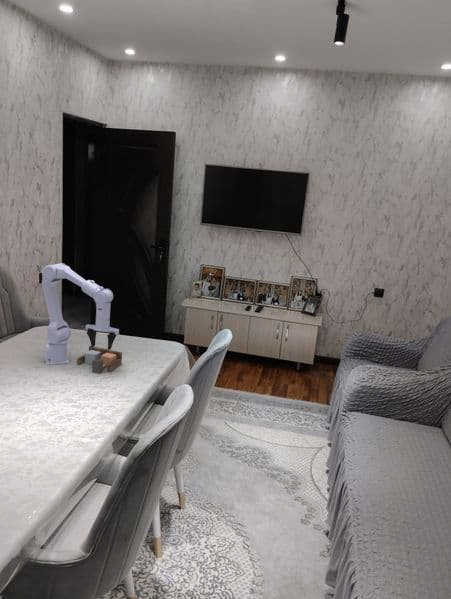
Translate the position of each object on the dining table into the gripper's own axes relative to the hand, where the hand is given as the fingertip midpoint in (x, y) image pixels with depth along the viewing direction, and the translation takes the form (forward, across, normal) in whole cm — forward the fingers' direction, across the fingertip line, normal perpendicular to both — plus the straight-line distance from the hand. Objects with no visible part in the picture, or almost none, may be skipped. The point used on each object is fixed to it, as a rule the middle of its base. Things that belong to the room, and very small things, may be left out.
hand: (101, 347), depth 201 cm
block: (+10, -7, +6) cm, 14 cm away
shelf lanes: (+10, -3, +5) cm, 12 cm away
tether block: (+10, 0, +2) cm, 11 cm away
